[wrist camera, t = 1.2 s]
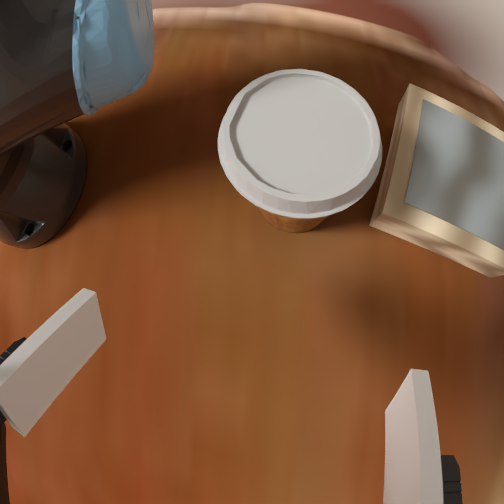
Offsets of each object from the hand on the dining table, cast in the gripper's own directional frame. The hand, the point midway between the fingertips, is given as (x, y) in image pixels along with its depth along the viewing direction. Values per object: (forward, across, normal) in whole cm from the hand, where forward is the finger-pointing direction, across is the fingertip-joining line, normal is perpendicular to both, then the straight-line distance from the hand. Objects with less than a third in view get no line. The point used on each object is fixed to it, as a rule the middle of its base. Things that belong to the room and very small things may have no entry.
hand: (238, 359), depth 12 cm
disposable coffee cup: (+19, -1, +1) cm, 19 cm away
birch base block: (+22, +14, +4) cm, 27 cm away
